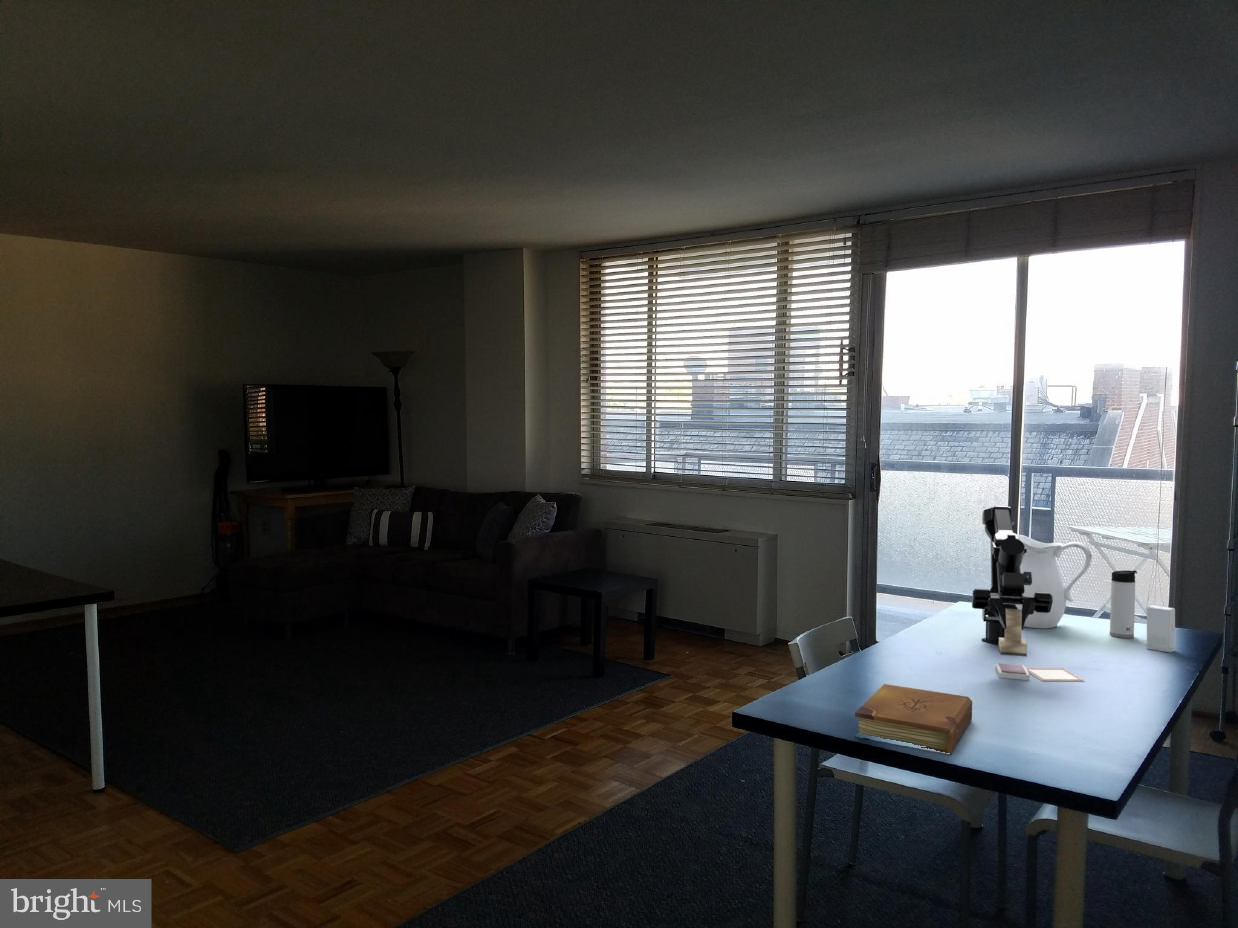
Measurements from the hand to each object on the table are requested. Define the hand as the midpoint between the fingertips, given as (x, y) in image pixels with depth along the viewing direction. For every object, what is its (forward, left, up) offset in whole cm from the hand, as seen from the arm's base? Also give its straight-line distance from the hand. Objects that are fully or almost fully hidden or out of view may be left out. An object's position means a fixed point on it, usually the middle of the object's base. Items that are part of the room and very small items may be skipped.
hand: (1013, 628), depth 220 cm
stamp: (-1, +1, -7) cm, 7 cm away
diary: (+20, -50, -13) cm, 56 cm away
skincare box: (-1, +59, -12) cm, 60 cm away
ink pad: (-1, +1, -12) cm, 12 cm away
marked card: (+4, +9, -12) cm, 16 cm away
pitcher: (-34, +54, -12) cm, 65 cm away
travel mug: (-16, +64, -12) cm, 67 cm away
